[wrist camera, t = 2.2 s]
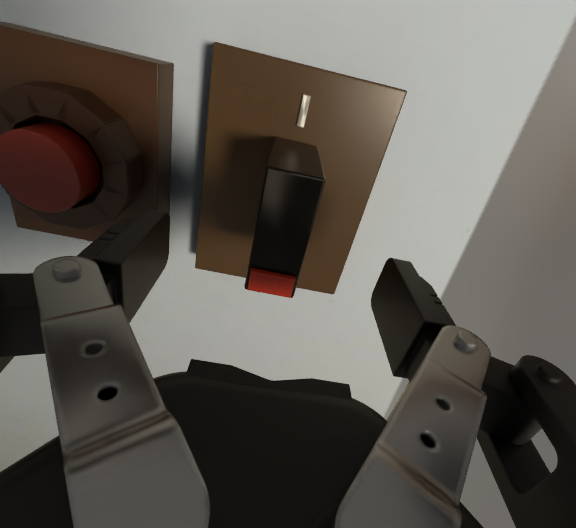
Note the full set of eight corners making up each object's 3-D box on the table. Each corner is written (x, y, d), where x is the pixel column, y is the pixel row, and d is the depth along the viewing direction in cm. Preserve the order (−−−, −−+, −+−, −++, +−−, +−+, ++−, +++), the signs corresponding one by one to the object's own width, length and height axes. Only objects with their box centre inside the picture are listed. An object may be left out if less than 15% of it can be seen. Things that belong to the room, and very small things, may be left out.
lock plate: (221, 43, 16) (211, 40, 14) (396, 88, 17) (409, 91, 15) (202, 252, 22) (194, 269, 20) (331, 277, 23) (334, 296, 21)
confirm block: (6, 22, 16) (-75, 11, 12) (174, 63, 17) (142, 63, 13) (41, 212, 21) (-8, 241, 18) (168, 237, 22) (144, 270, 18)
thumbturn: (275, 136, 16) (265, 167, 11) (318, 146, 16) (327, 181, 12) (256, 234, 19) (243, 292, 14) (293, 241, 19) (293, 302, 14)
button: (13, 113, 15) (-20, 119, 13) (96, 132, 15) (74, 140, 13) (28, 191, 16) (1, 203, 15) (103, 206, 17) (84, 220, 15)
